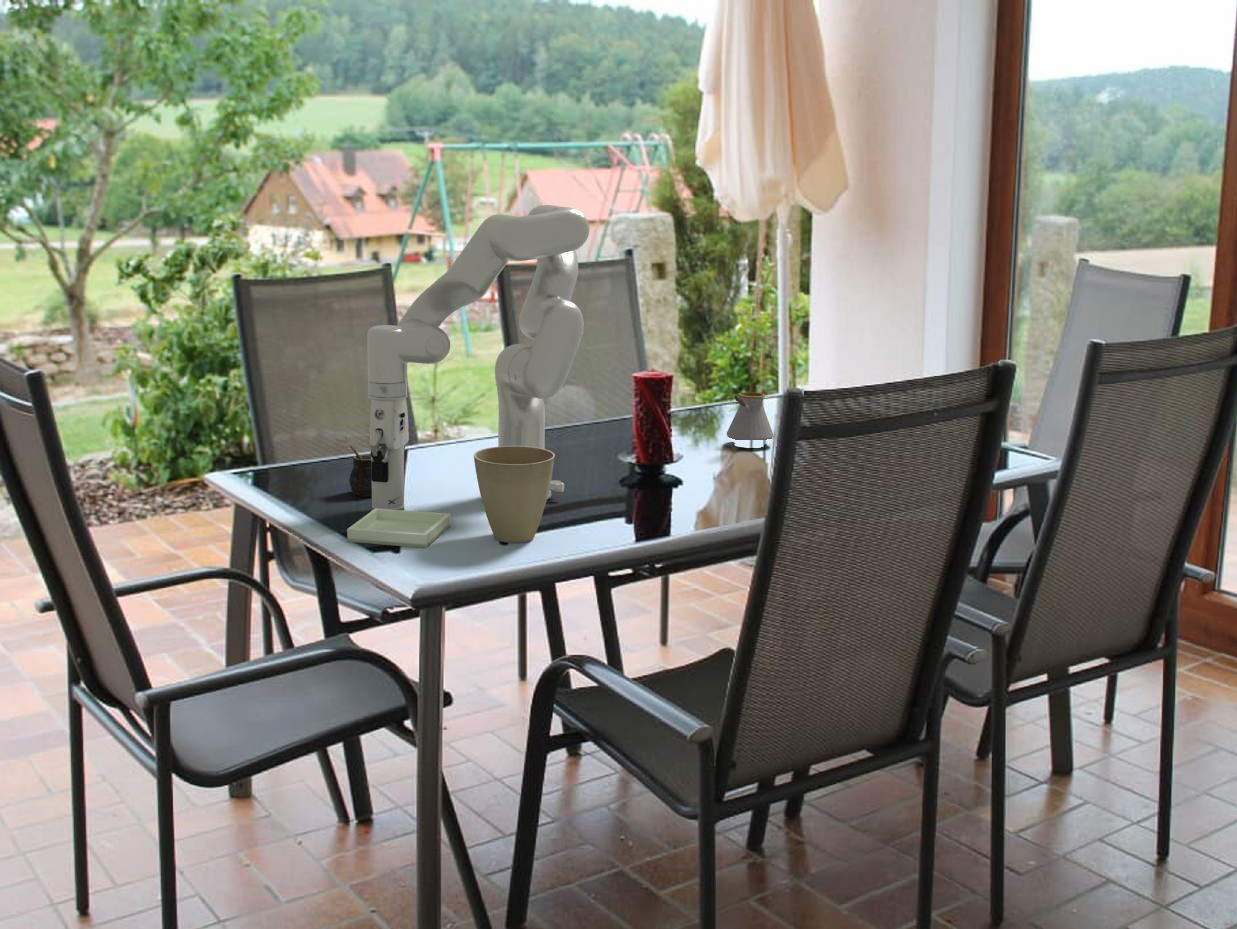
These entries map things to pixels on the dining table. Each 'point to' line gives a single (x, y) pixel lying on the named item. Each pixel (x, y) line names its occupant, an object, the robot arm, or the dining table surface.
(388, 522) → the tray
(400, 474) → the travel mug
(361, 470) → the mate gourd
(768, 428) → the coffee pot
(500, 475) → the plant pot
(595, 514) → the dining table surface
